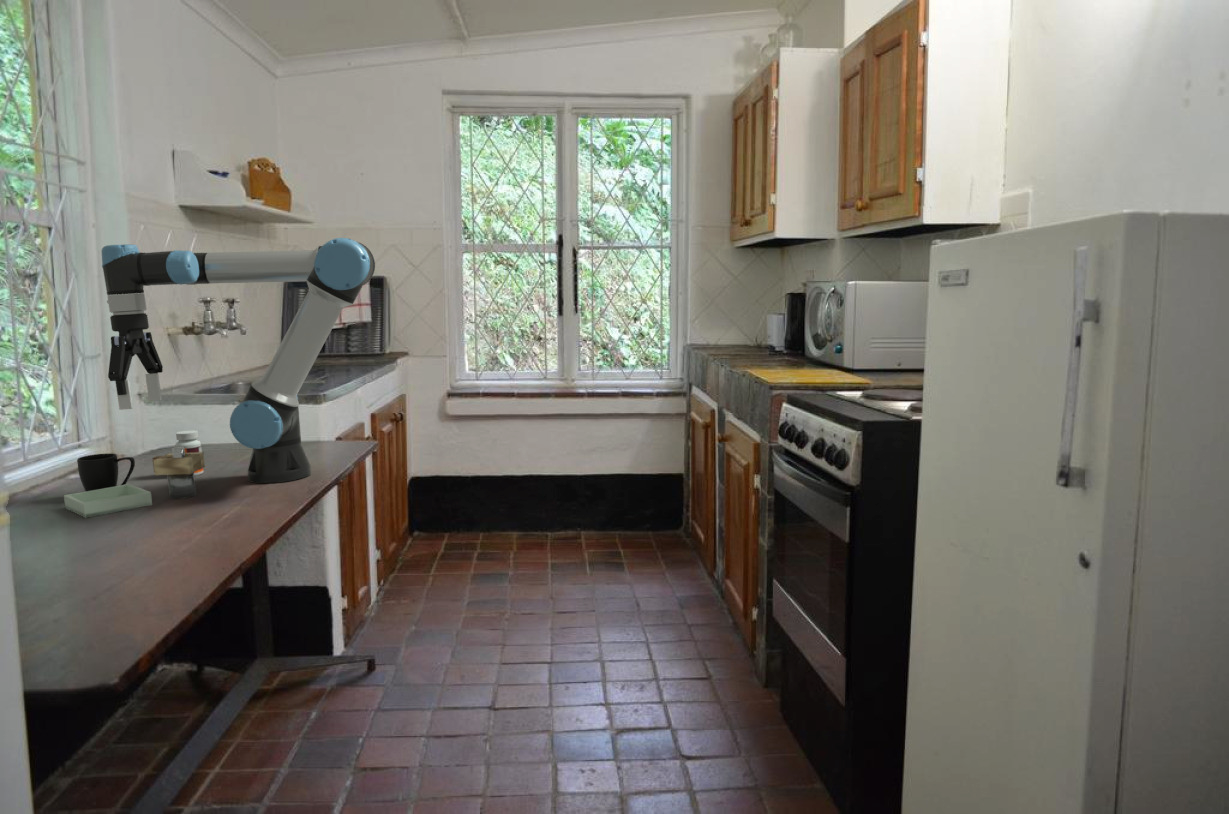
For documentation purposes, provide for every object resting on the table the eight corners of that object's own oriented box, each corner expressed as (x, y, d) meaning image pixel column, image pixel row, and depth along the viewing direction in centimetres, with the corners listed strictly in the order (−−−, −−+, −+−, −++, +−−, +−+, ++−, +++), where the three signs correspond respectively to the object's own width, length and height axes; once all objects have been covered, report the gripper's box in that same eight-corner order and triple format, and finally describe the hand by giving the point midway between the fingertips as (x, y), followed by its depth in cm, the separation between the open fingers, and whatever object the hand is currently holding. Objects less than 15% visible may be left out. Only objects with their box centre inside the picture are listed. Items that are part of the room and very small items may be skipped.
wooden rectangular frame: (204, 466, 211) (203, 452, 211) (190, 473, 203) (188, 458, 203) (163, 468, 211) (162, 453, 210) (147, 475, 203) (146, 460, 203)
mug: (130, 497, 208) (126, 458, 206) (75, 501, 206) (70, 461, 205) (143, 489, 216) (139, 451, 214) (90, 493, 214) (85, 454, 213)
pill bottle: (177, 478, 228) (172, 434, 226) (178, 473, 234) (174, 431, 232) (203, 475, 230) (199, 432, 229) (204, 470, 236) (200, 429, 234)
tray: (130, 496, 209) (128, 483, 209) (152, 504, 200) (150, 492, 200) (65, 508, 199) (63, 495, 199) (85, 518, 190) (84, 504, 190)
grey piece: (200, 492, 211) (195, 445, 209) (189, 498, 205) (184, 449, 204) (176, 493, 211) (171, 445, 209) (165, 499, 205) (160, 450, 204)
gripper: (139, 311, 215) (151, 398, 218) (81, 316, 190) (95, 414, 193) (170, 310, 215) (181, 396, 218) (116, 314, 190) (130, 411, 193)
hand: (141, 404), depth 206 cm, fingers open, 13 cm apart
